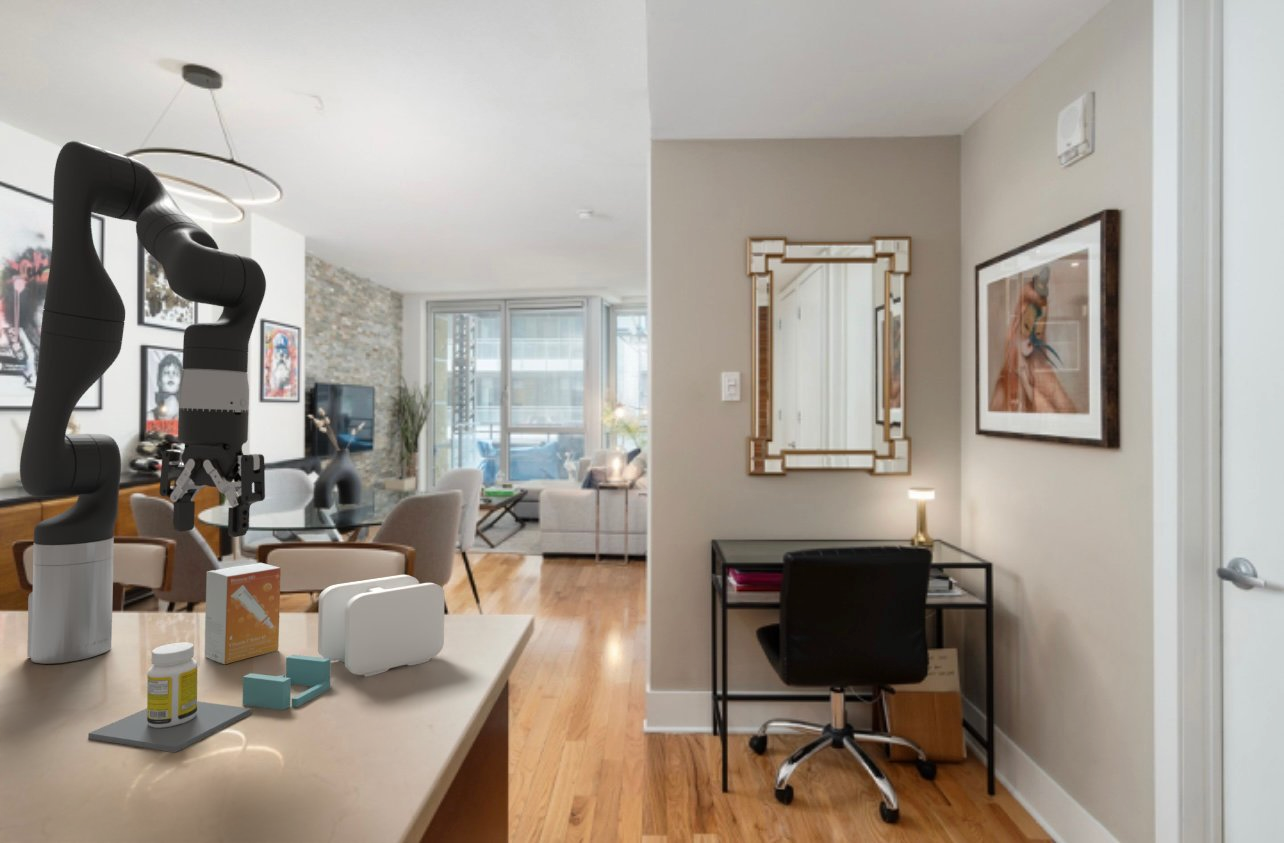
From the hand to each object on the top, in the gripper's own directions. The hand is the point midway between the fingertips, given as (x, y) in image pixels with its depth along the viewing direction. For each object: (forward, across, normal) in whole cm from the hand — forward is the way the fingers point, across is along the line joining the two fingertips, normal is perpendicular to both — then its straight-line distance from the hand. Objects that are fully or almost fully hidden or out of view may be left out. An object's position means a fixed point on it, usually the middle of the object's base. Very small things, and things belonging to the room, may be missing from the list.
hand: (210, 533), depth 85 cm
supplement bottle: (+21, +3, -7) cm, 22 cm away
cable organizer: (+21, +13, +18) cm, 31 cm away
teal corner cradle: (+21, +9, +4) cm, 23 cm away
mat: (+21, +3, -7) cm, 22 cm away
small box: (+22, -9, +15) cm, 28 cm away
